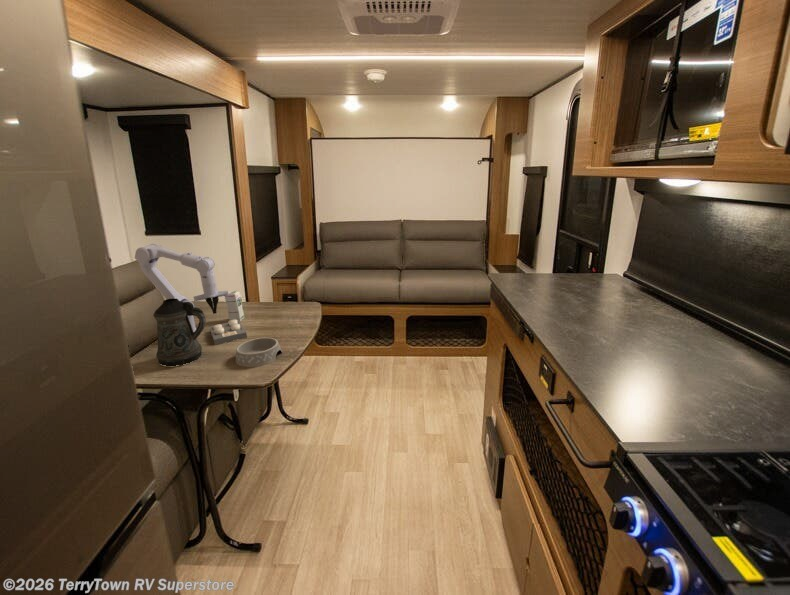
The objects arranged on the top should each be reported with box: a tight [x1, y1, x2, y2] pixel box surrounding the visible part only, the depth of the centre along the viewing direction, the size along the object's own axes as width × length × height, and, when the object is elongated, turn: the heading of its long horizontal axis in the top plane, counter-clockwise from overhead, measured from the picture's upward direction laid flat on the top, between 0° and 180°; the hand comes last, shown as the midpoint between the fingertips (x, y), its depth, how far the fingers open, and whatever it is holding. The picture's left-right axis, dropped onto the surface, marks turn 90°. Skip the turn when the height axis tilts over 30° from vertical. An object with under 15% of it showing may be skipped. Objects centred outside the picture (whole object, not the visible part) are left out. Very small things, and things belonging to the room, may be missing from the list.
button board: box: [209, 320, 248, 345], centre depth 188 cm, size 14×19×3 cm
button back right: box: [227, 319, 238, 327], centre depth 193 cm, size 4×4×3 cm
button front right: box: [231, 324, 241, 331], centre depth 187 cm, size 4×4×3 cm
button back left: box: [212, 323, 222, 330], centre depth 190 cm, size 4×4×3 cm
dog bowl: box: [235, 336, 283, 368], centre depth 163 cm, size 17×18×5 cm
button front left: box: [214, 327, 225, 335], centre depth 184 cm, size 4×4×3 cm
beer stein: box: [153, 298, 207, 366], centre depth 163 cm, size 16×19×25 cm
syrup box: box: [224, 290, 246, 322], centre depth 205 cm, size 6×6×14 cm
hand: (214, 313), depth 188 cm, fingers closed
